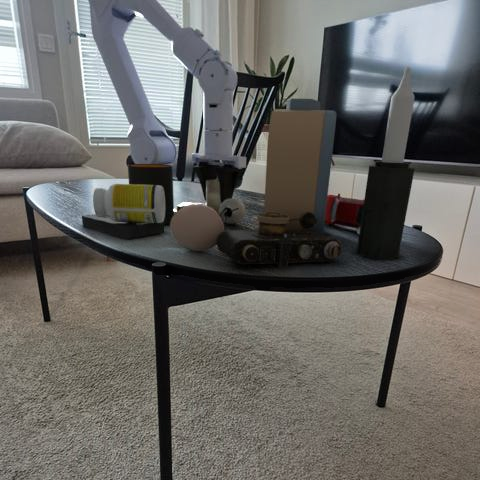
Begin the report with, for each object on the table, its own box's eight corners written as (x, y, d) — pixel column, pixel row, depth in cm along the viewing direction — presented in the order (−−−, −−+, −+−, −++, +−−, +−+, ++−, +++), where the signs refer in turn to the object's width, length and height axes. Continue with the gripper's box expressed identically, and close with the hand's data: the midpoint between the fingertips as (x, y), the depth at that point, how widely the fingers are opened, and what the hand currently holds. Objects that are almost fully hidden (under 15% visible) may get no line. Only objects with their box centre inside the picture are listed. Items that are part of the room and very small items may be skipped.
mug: (185, 215, 90) (183, 163, 85) (165, 226, 79) (163, 167, 75) (148, 213, 91) (145, 162, 87) (124, 223, 80) (119, 165, 76)
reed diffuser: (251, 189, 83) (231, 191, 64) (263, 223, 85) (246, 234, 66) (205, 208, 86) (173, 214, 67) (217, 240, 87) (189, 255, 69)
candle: (353, 251, 66) (379, 68, 56) (381, 250, 68) (411, 71, 58) (372, 260, 62) (404, 62, 52) (401, 258, 63) (437, 66, 53)
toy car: (328, 192, 87) (312, 189, 84) (390, 200, 77) (375, 197, 74) (322, 224, 89) (306, 222, 86) (381, 235, 79) (366, 234, 76)
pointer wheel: (201, 205, 88) (201, 178, 86) (218, 203, 91) (218, 177, 89) (216, 208, 85) (216, 180, 83) (233, 206, 88) (234, 179, 86)
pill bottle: (164, 180, 72) (99, 178, 71) (159, 191, 66) (88, 188, 66) (166, 216, 75) (103, 213, 74) (161, 229, 70) (94, 226, 69)
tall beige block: (321, 250, 66) (338, 95, 58) (262, 245, 68) (270, 94, 59) (324, 225, 85) (337, 106, 76) (277, 222, 87) (285, 105, 78)
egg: (199, 256, 58) (159, 248, 65) (234, 252, 63) (193, 245, 70) (199, 205, 56) (157, 202, 63) (235, 205, 61) (193, 202, 68)
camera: (321, 210, 64) (351, 218, 57) (316, 253, 66) (343, 266, 59) (217, 209, 58) (236, 218, 51) (216, 256, 61) (233, 270, 54)
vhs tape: (165, 232, 74) (165, 220, 73) (127, 239, 69) (126, 227, 68) (120, 221, 83) (119, 210, 82) (83, 226, 77) (81, 215, 77)
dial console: (175, 219, 86) (174, 206, 85) (185, 212, 94) (185, 200, 93) (235, 222, 85) (235, 209, 84) (240, 215, 93) (241, 203, 92)
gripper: (179, 129, 85) (181, 199, 90) (227, 131, 75) (226, 208, 81) (206, 130, 89) (206, 196, 95) (255, 132, 80) (252, 205, 85)
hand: (217, 202), depth 88 cm, fingers closed on pointer wheel, 5 cm apart
